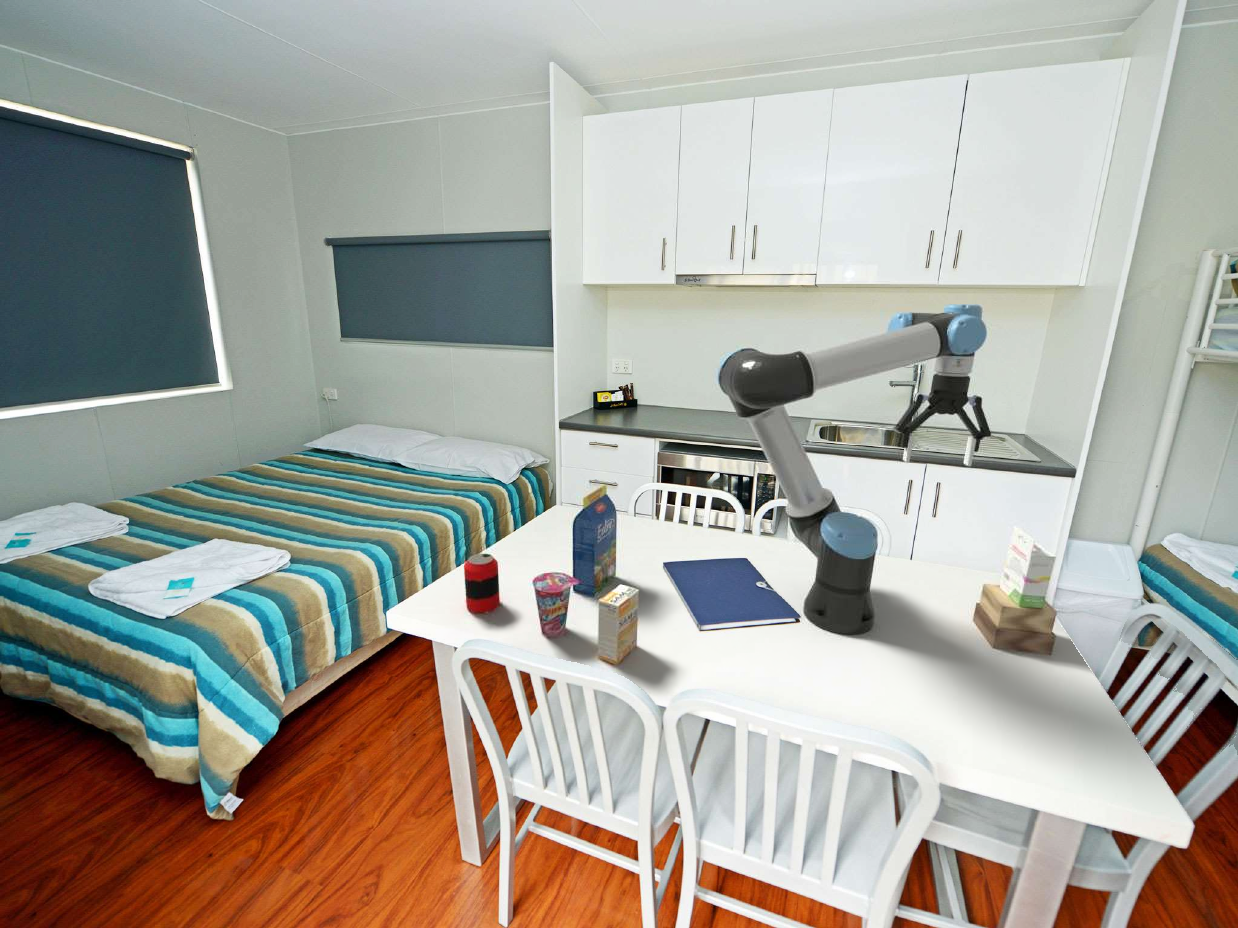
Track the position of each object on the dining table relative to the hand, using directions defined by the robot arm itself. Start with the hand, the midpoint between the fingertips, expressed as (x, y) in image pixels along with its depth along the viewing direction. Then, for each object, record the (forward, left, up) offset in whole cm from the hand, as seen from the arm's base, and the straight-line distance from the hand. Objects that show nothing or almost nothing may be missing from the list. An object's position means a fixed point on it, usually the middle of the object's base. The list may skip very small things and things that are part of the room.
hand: (936, 462), depth 138 cm
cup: (-84, -39, -33) cm, 98 cm away
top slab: (+14, -21, -28) cm, 37 cm away
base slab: (+14, -21, -33) cm, 41 cm away
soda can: (-103, -33, -33) cm, 113 cm away
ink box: (+14, -21, -23) cm, 34 cm away
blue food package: (-80, -17, -33) cm, 88 cm away
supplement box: (-69, -44, -33) cm, 88 cm away
